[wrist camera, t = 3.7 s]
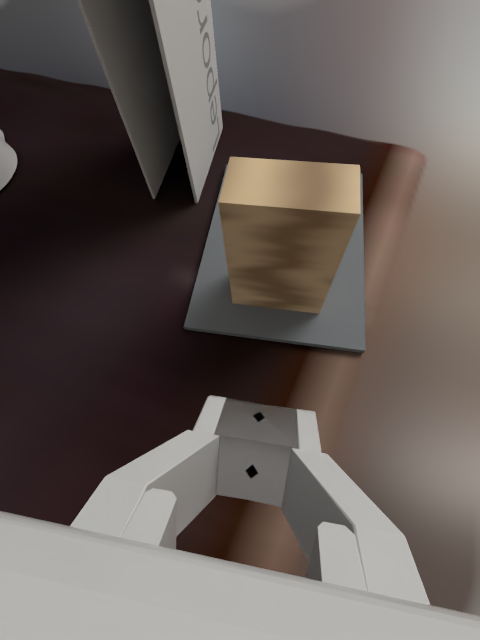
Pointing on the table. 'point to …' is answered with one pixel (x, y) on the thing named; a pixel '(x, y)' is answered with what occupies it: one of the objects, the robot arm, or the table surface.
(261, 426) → the robot arm
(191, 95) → the brochure
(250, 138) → the table surface
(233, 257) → the wood block
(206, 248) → the rubber mat
